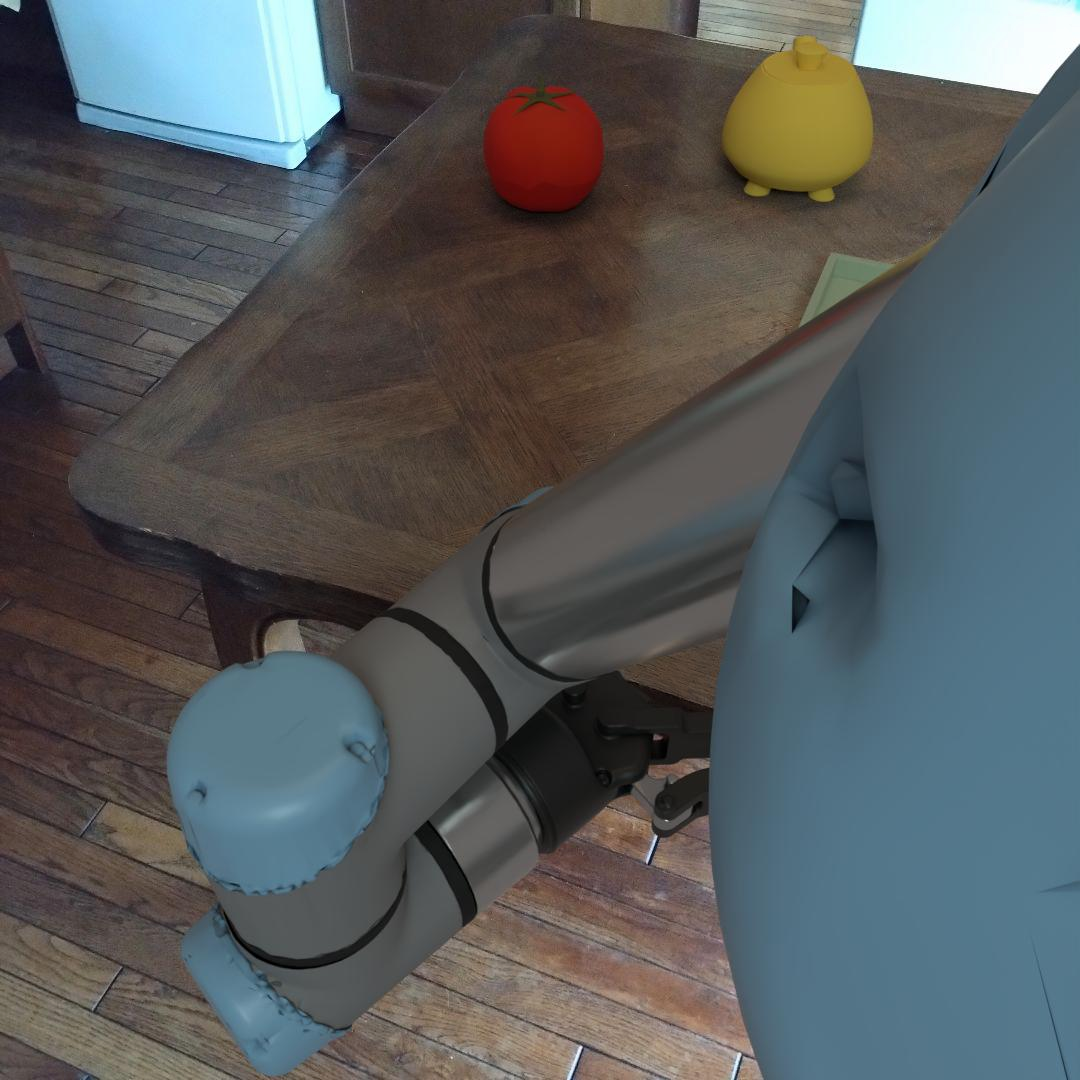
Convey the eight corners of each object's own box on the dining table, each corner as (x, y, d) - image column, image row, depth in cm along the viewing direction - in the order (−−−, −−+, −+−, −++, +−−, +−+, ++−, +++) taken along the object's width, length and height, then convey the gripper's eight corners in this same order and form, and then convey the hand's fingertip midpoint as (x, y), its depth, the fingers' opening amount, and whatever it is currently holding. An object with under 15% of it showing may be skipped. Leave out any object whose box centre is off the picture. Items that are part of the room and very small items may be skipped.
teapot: (724, 123, 124) (739, -2, 114) (861, 133, 122) (888, 7, 112) (711, 206, 110) (727, 72, 100) (865, 219, 108) (896, 84, 98)
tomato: (560, 162, 117) (561, 55, 109) (629, 213, 109) (636, 102, 101) (463, 191, 113) (456, 81, 105) (528, 246, 105) (526, 132, 97)
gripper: (356, 689, 61) (617, 514, 71) (678, 1021, 48) (941, 750, 58) (338, 603, 55) (623, 427, 65) (695, 951, 43) (982, 666, 52)
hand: (773, 578), depth 62 cm, fingers open, 13 cm apart
